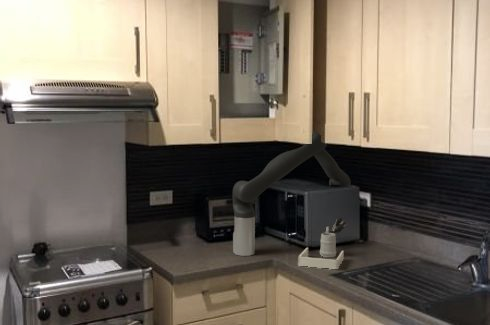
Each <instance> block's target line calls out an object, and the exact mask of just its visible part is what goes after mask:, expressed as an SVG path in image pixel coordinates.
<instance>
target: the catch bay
mask: <svg viewBox="0 0 490 325" xmlns="http://www.w3.org/2000/svg"><path fill="white" fill-rule="evenodd" d="M344 254H345V251H344V250H341V252H340V253H339V255H338V256H337V257H336V259H331V258H329V259H327V258H320V257H319V258H318V257H310V256H309V247H306V248H305V249H304V250H302V252H301V253H300V254H299V255H298V256H297V266H298V267H300V266H308V267H307V268H310V267H317V268H316V269H321V268H329V269H328V270H331V269H338V270H339V268H340V267H341V265H342V264H343V262H344V260H343V259H344V257H345V255H344ZM342 261H343V262H342ZM340 264H341V265H340ZM339 266H340V267H339Z"/></svg>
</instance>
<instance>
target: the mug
mask: <svg viewBox="0 0 490 325" xmlns="http://www.w3.org/2000/svg"><path fill="white" fill-rule="evenodd" d="M336 243H337V240H336V233H335V234H334V233H329V226H327V227H326V231H325V232H321V236H320V250H319V254H320V255H321V256H320V257H322V256H323V258H327V257H332V258H335V257H337V253H338V252H337V248H336V247H337V246H336Z"/></svg>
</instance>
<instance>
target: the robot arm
mask: <svg viewBox="0 0 490 325" xmlns="http://www.w3.org/2000/svg"><path fill="white" fill-rule="evenodd" d="M327 145H328V143H327V144H324V143H322V142H321V135H320V134H319V133H318V132H316V131H313V134H312V144H303V145H302V146H300V147H298V148H295V149H292V150H291V149H290V150H288V151H285V152H282V153H280V154H279V155H277V156H276V157H275V158H273V159H272V160H271V161H269V162H268V163H267V165H266V166H265V167H264V168H263V170H262V171H261V173H260V174H258V175H257V176H255V177H253V179H251V180H249V181H247V180H239V181H237V182H236V183H235V184H234V186H233V187H232V210H233V213H234V231H233V233H232V252H233V253H234V254H235V255H236V256H242V257H244V256H245V257H246V256H248V257H249V256H252V255H255V252H256V251H255V246H256V245H255V241H256V238H255V237H256V236H255V235H256V234H255V233H256V231H255V230H256V225H255V224H256V223H255V222H256V221H255V220H256V219H255V216H256V214H255V213H256V212H255V209H254V207H253V201H255V200H256V199H257V198H258V197H259V196H260V195H261V194H263V192H265V191H266V190H267V189H268V188H270V187H271V186H272V185H273V184H275V183H276V182H278V181H279V180H281V179H282V178H284V177H285V176H287V175H288V174H289V173H290V172H291V171H293V170H294V169H296V168H297V167H298V166H300V165H301V164H302V163H304V162H305V161H307V160H309V159H311V158H312V157H313V156H314V158H315V159H316V160H317V162H318V163H319V164H320V167H322V169H323V171H324V172H325V174H326V176H327V177H328V178H329V181H328V184H329V186H330V185H341V186H349V187H350V186H351V179H350V176H349V175H348V174H347V173H346V172H344V170H342V169H341V168H340V167H339V165H338V163H337V162H336V160H335V159H334V158H333V157H332V155H331V154H330V153H329V152H328V151H327V150H326V149H325V148H326V147H327ZM339 223H340V224H339ZM336 226H338V227H337V228H336ZM346 227H347V222H346V221H344V220H343V216H342V217H341V218H340V219H339V220H338V221H337V219H336V222H335V224H334V225H333V227H332V231H331V230H330V233H334V234H335V235H336V233H337V234H339V233H340V232H341V231H343V229H344V228H346ZM335 228H336V229H335Z"/></svg>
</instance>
